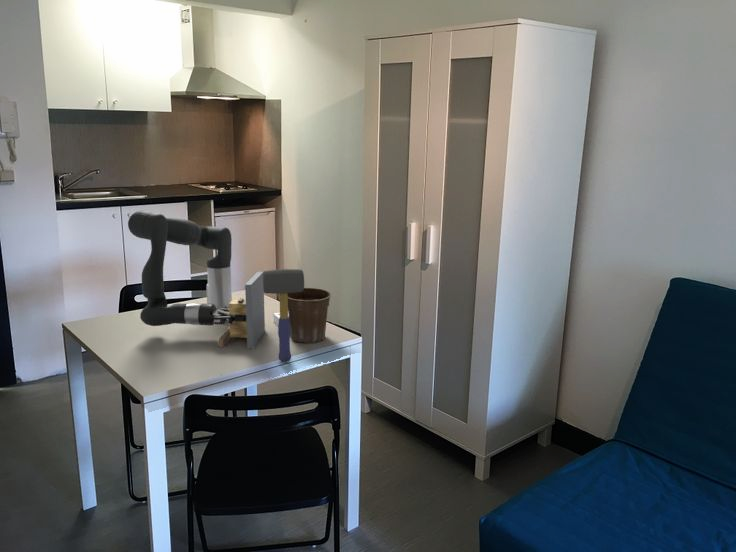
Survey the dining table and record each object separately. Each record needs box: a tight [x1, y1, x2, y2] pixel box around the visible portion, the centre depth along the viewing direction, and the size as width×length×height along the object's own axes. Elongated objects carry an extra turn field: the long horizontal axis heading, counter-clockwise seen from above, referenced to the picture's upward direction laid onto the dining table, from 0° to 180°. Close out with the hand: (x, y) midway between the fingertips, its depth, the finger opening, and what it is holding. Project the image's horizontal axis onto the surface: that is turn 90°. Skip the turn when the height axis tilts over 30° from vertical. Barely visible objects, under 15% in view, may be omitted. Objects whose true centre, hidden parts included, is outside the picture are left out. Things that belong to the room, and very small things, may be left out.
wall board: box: [217, 271, 266, 349], centre depth 208 cm, size 12×18×22 cm, turn 177°
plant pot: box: [288, 287, 332, 344], centre depth 210 cm, size 16×16×16 cm
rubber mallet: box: [262, 268, 305, 364], centre depth 187 cm, size 12×8×30 cm, turn 104°
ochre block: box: [229, 298, 247, 339], centre depth 208 cm, size 7×5×13 cm
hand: (248, 315), depth 208 cm, fingers closed on ochre block, 5 cm apart
